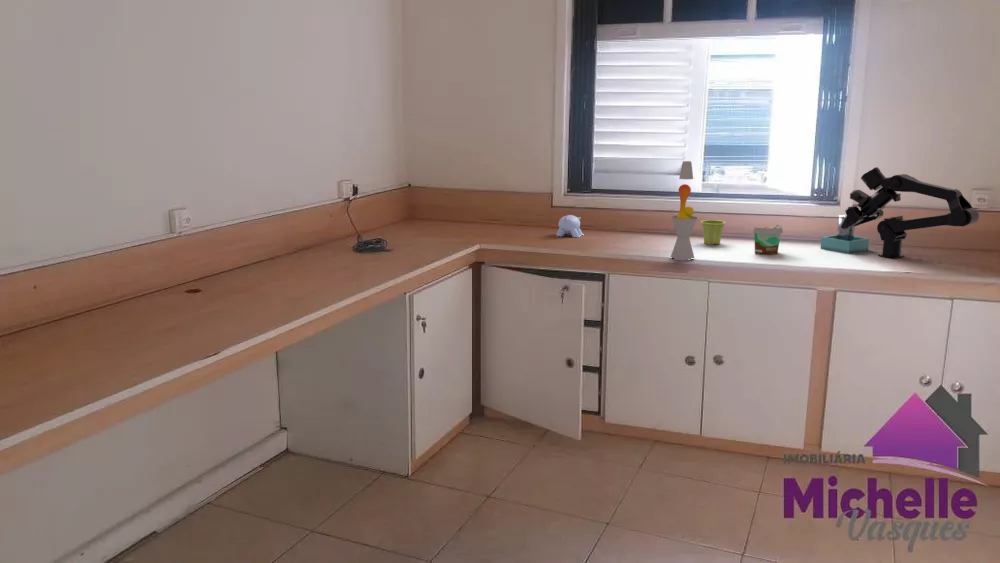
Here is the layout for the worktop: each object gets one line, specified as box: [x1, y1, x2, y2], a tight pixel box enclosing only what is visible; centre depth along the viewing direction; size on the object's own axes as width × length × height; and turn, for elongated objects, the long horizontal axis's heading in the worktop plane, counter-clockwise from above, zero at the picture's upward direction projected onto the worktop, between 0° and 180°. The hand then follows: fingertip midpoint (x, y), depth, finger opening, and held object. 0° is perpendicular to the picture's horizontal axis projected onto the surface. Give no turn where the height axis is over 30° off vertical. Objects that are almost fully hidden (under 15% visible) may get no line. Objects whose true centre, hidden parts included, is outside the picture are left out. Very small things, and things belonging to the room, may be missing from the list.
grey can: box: [836, 213, 856, 241], centre depth 307 cm, size 6×6×12 cm
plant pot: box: [700, 219, 726, 245], centre depth 321 cm, size 9×9×9 cm
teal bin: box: [820, 234, 870, 255], centre depth 308 cm, size 12×12×4 cm
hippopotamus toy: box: [555, 214, 584, 238], centre depth 341 cm, size 11×15×10 cm
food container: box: [752, 224, 784, 256], centre depth 300 cm, size 12×6×10 cm, turn 117°
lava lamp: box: [670, 160, 698, 261], centre depth 290 cm, size 9×9×35 cm
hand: (848, 226), depth 306 cm, fingers open, 9 cm apart
